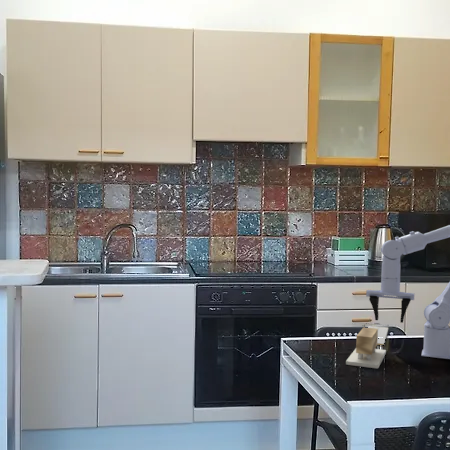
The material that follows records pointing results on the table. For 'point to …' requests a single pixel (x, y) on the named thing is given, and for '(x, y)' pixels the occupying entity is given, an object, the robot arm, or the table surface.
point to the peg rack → (366, 359)
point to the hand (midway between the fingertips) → (389, 320)
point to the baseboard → (381, 334)
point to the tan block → (366, 340)
